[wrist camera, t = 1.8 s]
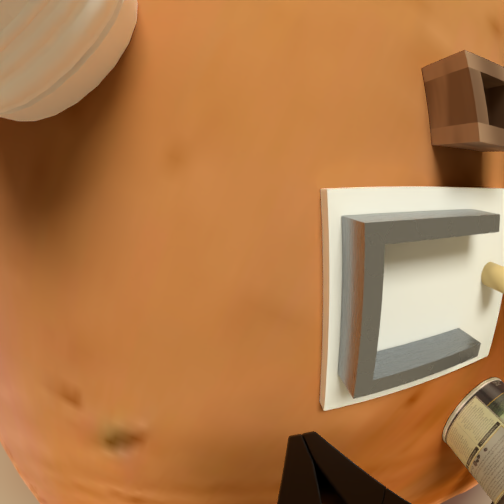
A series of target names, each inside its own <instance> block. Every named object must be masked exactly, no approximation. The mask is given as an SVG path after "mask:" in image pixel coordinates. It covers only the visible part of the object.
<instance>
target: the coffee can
mask: <svg viewBox="0 0 504 504" xmlns="http://www.w3.org/2000/svg"><path fill="white" fill-rule="evenodd" d="M442 437H443V440H444V442H445V443H447V444H448V445H449V447H450V448H451V449H452V450H453V452H454V453H455V454H456V455H457V457H458V458H459V459H460V460H461V462H462V463H463V464H464V465H465V467H466V468H467V469H468V470H469V472H470V473H471V474H472V475H473V477H474V478H475V479H476V480H477V482H478V483H479V484H480V486H481V487H482V488H483V489H484V491H485V492H486V493H487V495H488V496H489V497H490V498H491V500H492V501H493V502H494V504H504V383H503V382H502V381H501V380H500V379H499V378H497V377H493V378H490V379H487V380H485V381H483V382H482V383H480V384H479V385H478V386H476V387H475V388H474V389H473V390H472V391H471V392H470V393H469V394H468V395H467V396H466V397H465V398H464V399H463V400H462V401H461V402H460V403H459V405H458V406H457V407H456V408H455V410H454V411H453V413H452V414H451V416H450V417H449V419H448V420H447V423H446V425H445V427H444V430H443V434H442Z"/></svg>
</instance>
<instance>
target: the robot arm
mask: <svg viewBox="0 0 504 504" xmlns="http://www.w3.org/2000/svg"><path fill="white" fill-rule="evenodd" d="M277 504H411V503H409V502H408V501H406V500H404V499H403V498H401V497H400V496H398V495H397V494H395V493H394V492H392V491H391V490H389V489H388V488H387V489H386V487H385V486H384V485H382V484H381V483H380V482H378V481H377V480H376V479H374V478H373V477H371V476H370V475H369V474H367V473H366V472H365V471H364V470H362V469H361V468H360V467H358V466H357V465H356V464H354V463H353V462H352V461H351V460H349V459H348V458H347V457H345V456H344V455H343V454H342V453H340V452H339V451H338V450H337V449H336V448H334V447H333V446H332V445H331V444H329V443H328V442H327V441H326V440H325V439H323V438H322V437H321V436H320V435H319V434H317V433H316V432H314V431H313V432H308V433H303V434H302V435H301V434H297V435H292V436H289V438H288V444H287V450H286V457H285V463H284V468H283V474H282V480H281V486H280V491H279V496H278V502H277Z"/></svg>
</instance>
